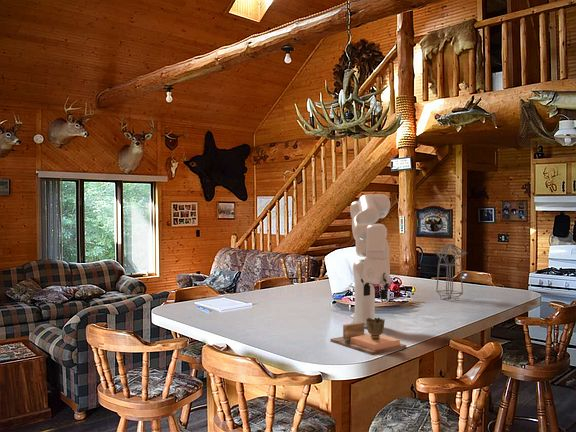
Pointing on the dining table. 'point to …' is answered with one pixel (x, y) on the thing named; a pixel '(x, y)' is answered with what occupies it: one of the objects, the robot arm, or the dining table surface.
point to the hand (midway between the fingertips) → (375, 297)
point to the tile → (375, 342)
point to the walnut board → (342, 342)
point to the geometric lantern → (450, 268)
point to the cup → (375, 327)
